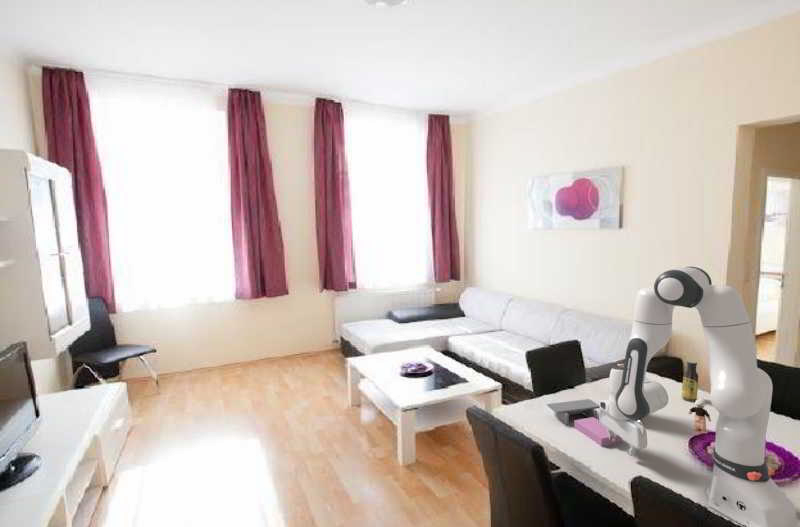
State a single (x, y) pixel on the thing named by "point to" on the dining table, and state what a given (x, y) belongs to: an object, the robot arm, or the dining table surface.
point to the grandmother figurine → (700, 415)
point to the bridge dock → (574, 409)
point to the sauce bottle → (690, 382)
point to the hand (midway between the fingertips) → (621, 447)
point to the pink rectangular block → (595, 431)
